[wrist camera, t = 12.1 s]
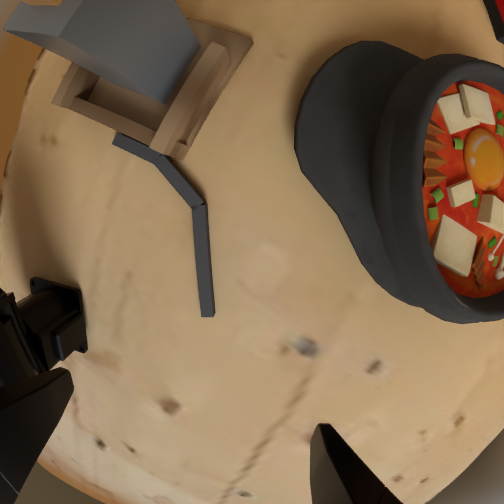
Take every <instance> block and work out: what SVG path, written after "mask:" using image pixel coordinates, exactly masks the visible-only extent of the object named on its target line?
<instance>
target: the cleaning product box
mask: <svg viewBox="0 0 504 504" xmlns="http://www.w3.org/2000/svg"><path fill="white" fill-rule="evenodd" d="M483 1H484V4H485V6H486V9H487V12H488V14H489V17H490V20H491V23H492V26H493V29H494V32H495V36H496V39H497V40H498V41H499V42H501V43H503V44H504V0H483Z"/></svg>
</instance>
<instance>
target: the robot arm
mask: <svg viewBox="0 0 504 504" xmlns="http://www.w3.org/2000/svg"><path fill="white" fill-rule="evenodd" d="M34 282H35V283H34ZM30 286H31V295H29V296H27V297H26V298H24V299H22V300H20V301H19V302H17V303H16V302H15V296H14V293H13V292H11V293H7V294H6V293H5V291H3V290H2V289H1V288H0V504H14V503H15V501H16V499H17V497H18V494H19V492H20V490H21V488H22V487H23V485H24V483H25V481H26V479H27V477H28V475H29V473H30V471H31V470H32V468H33V466H34V464H35V462H36V461H37V459H38V457H39V455H40V453H41V452H42V450H43V448H44V447H45V445H46V443H47V441H48V440H49V438H50V436H51V435H52V433H53V431H54V430H55V428H56V426H57V424H58V423H59V421H60V419H61V417H62V415H63V413H64V410H65V408H66V406H67V404H68V402H69V400H70V398H71V396H72V394H73V391H74V385H73V381H72V377H71V373H70V371H69V370H67V369H65V368H62V367H59V368H56V369H53V370H50V369H52V368H53V367H54V366H55V365H56V364H57V363H58V362H59V361H60V360H61V361H64V360H65V359H66V358H67V357H68V356H69V355H70V354H71V353H72V352H73V351H74V350H75V351H78V352H81V353H85V352H86V351H87V350H88V346H87V340H86V330H85V322H84V315H83V306H82V295H81V292H80V291H79V290H78V289H76V288H72V287H69V286H65V285H61V284H58V283H54V282H51V281H47V280H44V279H41V278H37V277H33V278H31V279H30ZM75 293H76V295H77V296H76V295H75ZM82 347H83V348H82ZM49 370H50V371H49ZM310 486H311V495H312V504H403V503H402V502H401V501H400V500H399V499H398V498H397V497H396V496H395V495H394V494H393V493H392V492H391V491H390V490H389V489H388V488H387V487H385V485H384V484H383V483H382V482H381V481H380V480H379V479H378V477H377V476H376V475H375V474H374V473H373V472H372V471H371V470H370V469H369V468H368V466H367V465H366V464H365V463H364V462H363V461H362V460H361V459H360V458H359V456H358V455H357V454H356V453H355V452H354V451H353V450H352V449H351V447H350V446H349V445H348V444H347V443H346V442H345V441H344V439H343V438H342V437H341V436H340V435H339V434H338V432H337V431H336V430H335V429H334V428H333V427H332V425H331V424H328V423H319V424H318V425H317V426H316V428H315V431H314V433H313V435H312V438H311V443H310Z"/></svg>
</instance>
